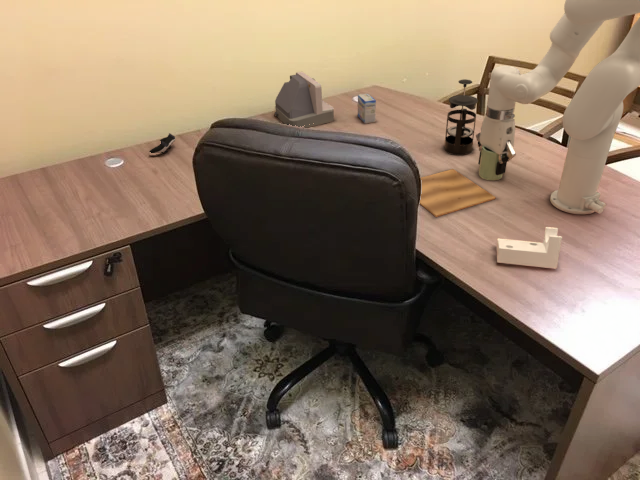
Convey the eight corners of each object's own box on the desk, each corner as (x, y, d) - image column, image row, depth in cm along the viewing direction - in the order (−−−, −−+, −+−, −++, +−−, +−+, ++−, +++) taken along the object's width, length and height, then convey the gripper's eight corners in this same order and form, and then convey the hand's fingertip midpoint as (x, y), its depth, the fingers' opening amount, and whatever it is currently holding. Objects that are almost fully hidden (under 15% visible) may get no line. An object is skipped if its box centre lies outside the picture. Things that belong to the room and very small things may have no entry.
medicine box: (357, 116, 205) (357, 94, 200) (368, 114, 206) (368, 92, 201) (364, 124, 199) (364, 101, 194) (376, 122, 200) (376, 99, 195)
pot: (507, 177, 160) (512, 149, 155) (488, 182, 158) (492, 154, 153) (492, 167, 166) (496, 140, 161) (473, 173, 164) (477, 145, 158)
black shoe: (157, 163, 185) (167, 150, 181) (146, 154, 183) (157, 141, 180) (169, 149, 193) (179, 137, 190) (159, 141, 192) (169, 128, 188)
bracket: (552, 257, 128) (557, 227, 126) (556, 268, 122) (562, 237, 119) (495, 251, 131) (499, 222, 129) (497, 262, 125) (501, 231, 122)
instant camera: (337, 123, 200) (336, 84, 192) (283, 132, 196) (279, 92, 188) (322, 104, 217) (320, 67, 209) (272, 112, 213) (268, 74, 205)
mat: (495, 199, 150) (495, 197, 150) (436, 217, 144) (436, 215, 144) (452, 170, 166) (452, 168, 165) (397, 185, 159) (397, 184, 159)
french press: (470, 157, 172) (479, 87, 159) (441, 154, 175) (447, 85, 162) (474, 142, 181) (483, 75, 168) (446, 139, 184) (452, 73, 171)
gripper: (532, 119, 145) (521, 177, 155) (490, 100, 158) (482, 154, 169) (510, 125, 143) (500, 183, 153) (469, 105, 156) (463, 160, 166)
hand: (491, 168), depth 161 cm, fingers closed on pot, 7 cm apart
